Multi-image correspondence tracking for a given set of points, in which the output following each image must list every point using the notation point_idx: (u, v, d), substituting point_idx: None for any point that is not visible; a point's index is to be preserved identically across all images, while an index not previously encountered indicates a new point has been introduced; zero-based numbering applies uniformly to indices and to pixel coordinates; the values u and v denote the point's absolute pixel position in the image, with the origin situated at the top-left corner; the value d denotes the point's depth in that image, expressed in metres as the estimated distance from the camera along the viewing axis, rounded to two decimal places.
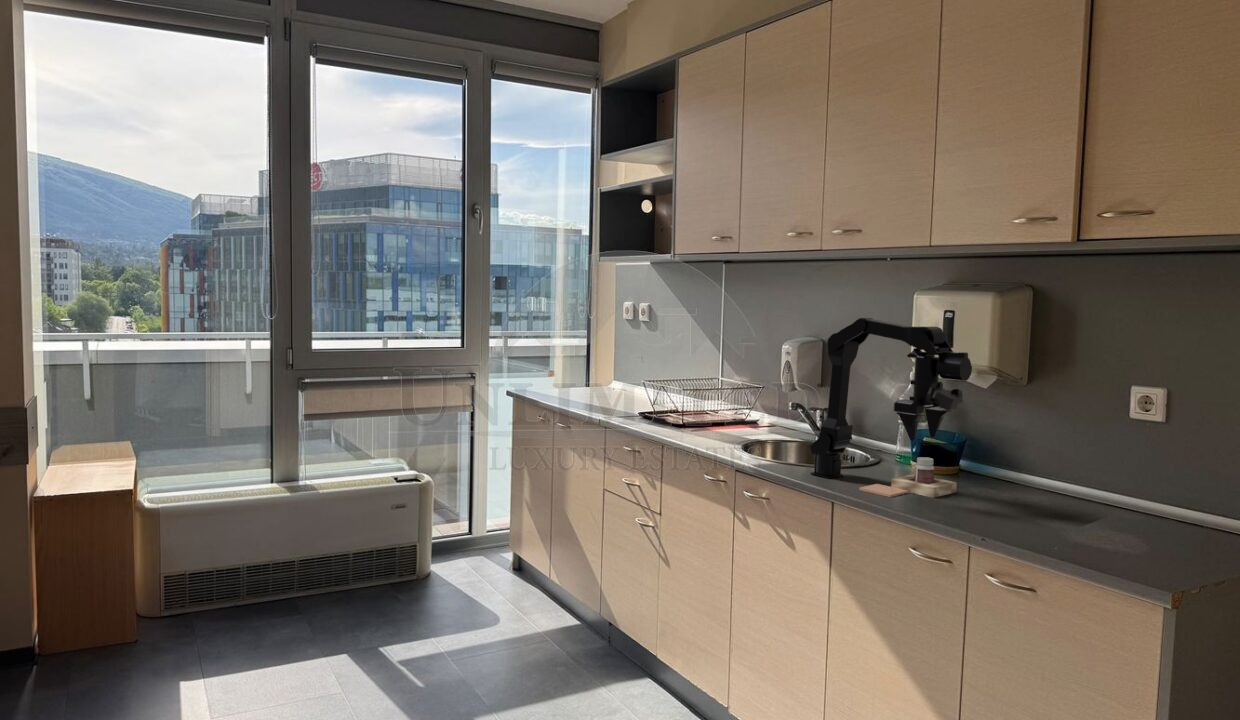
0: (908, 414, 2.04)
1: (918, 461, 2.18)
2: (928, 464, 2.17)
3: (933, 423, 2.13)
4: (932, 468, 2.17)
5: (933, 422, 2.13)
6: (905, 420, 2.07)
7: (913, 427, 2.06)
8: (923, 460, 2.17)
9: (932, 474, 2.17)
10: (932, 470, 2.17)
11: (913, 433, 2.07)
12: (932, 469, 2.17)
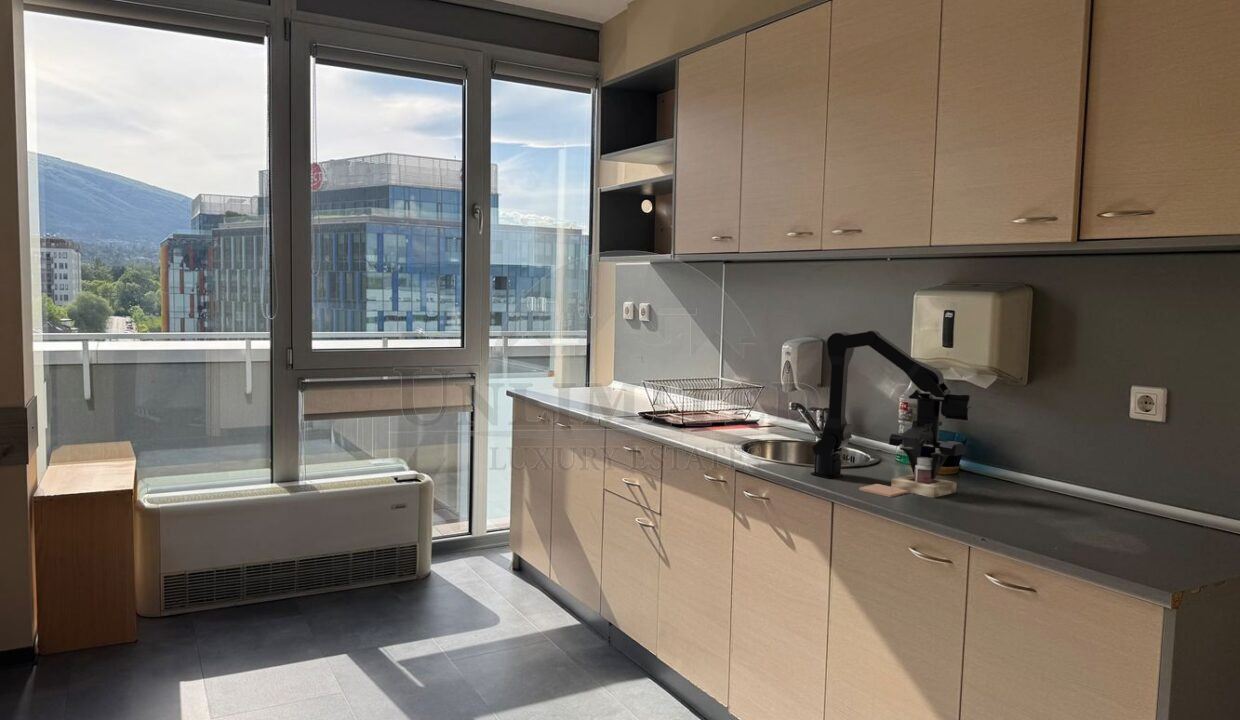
0: None
1: (918, 461, 2.18)
2: (928, 464, 2.17)
3: None
4: None
5: None
6: None
7: None
8: (923, 460, 2.17)
9: None
10: None
11: None
12: None
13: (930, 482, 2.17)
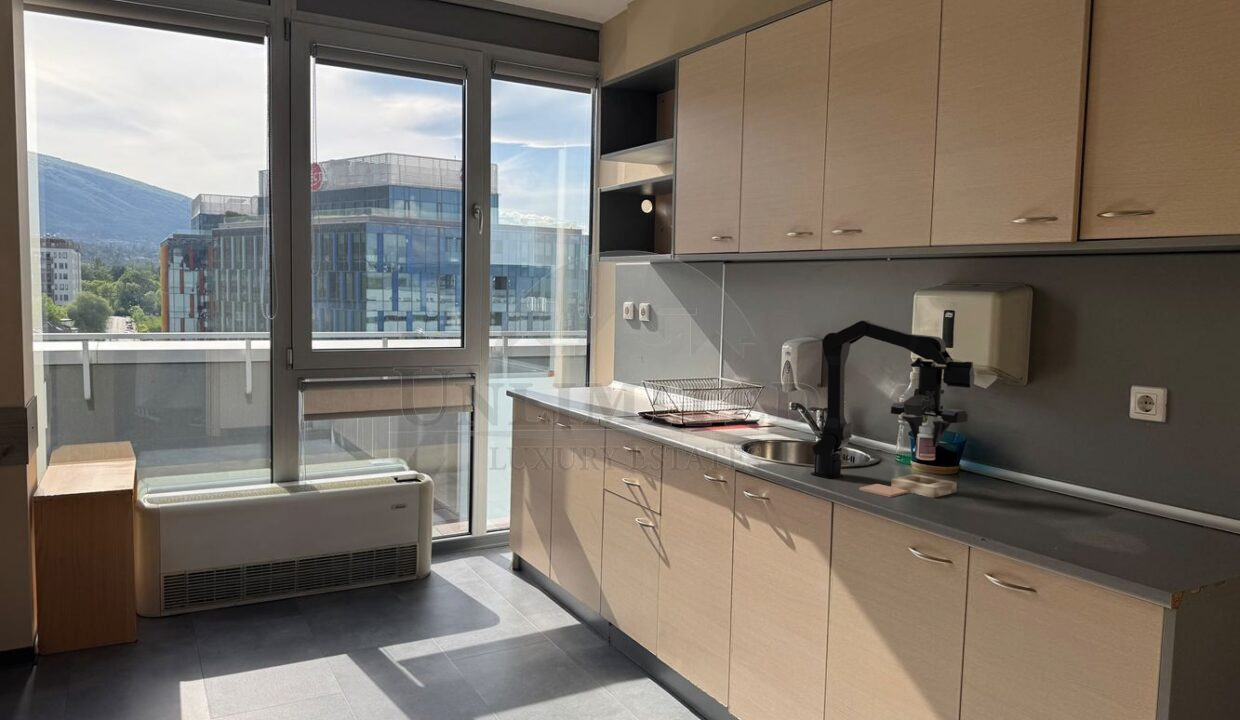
0: None
1: (920, 429, 2.17)
2: (930, 432, 2.16)
3: None
4: None
5: None
6: None
7: None
8: (925, 428, 2.16)
9: None
10: None
11: None
12: None
13: (932, 450, 2.16)
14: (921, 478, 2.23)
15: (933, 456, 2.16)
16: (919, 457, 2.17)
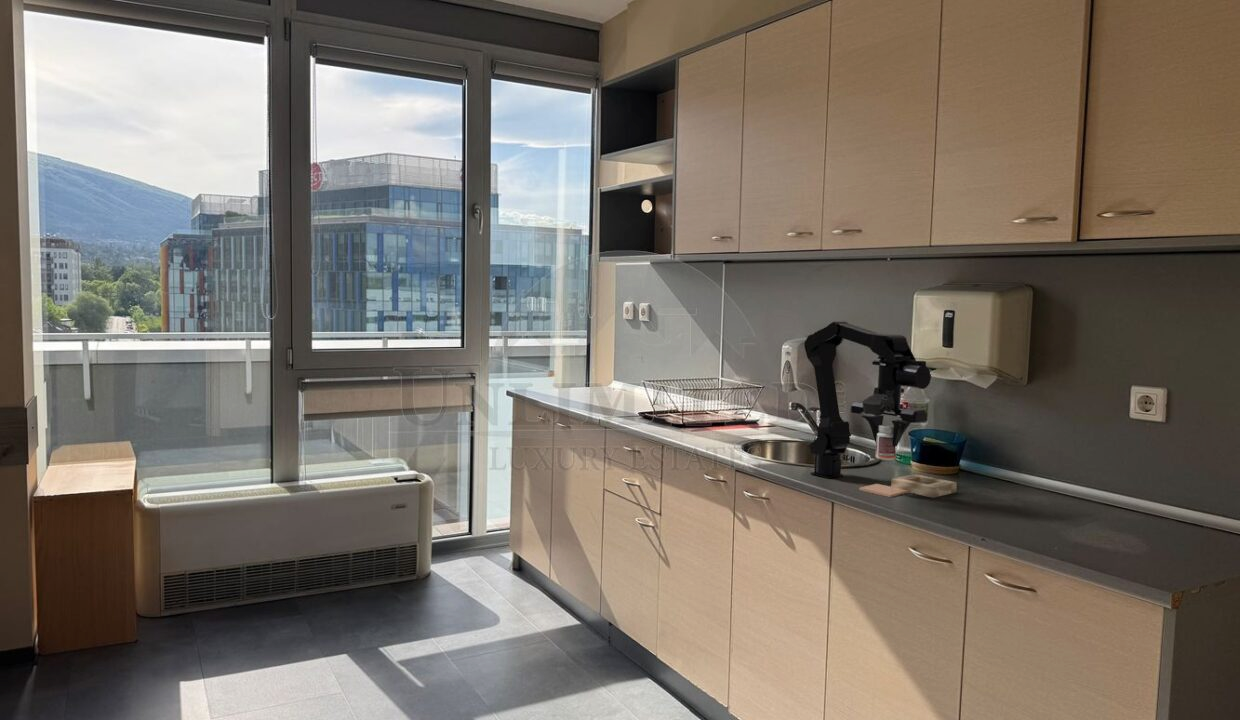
0: None
1: (880, 429, 2.14)
2: (889, 431, 2.13)
3: None
4: None
5: None
6: None
7: None
8: (884, 427, 2.13)
9: None
10: None
11: None
12: None
13: (891, 450, 2.13)
14: (921, 478, 2.23)
15: (893, 456, 2.14)
16: (879, 457, 2.14)
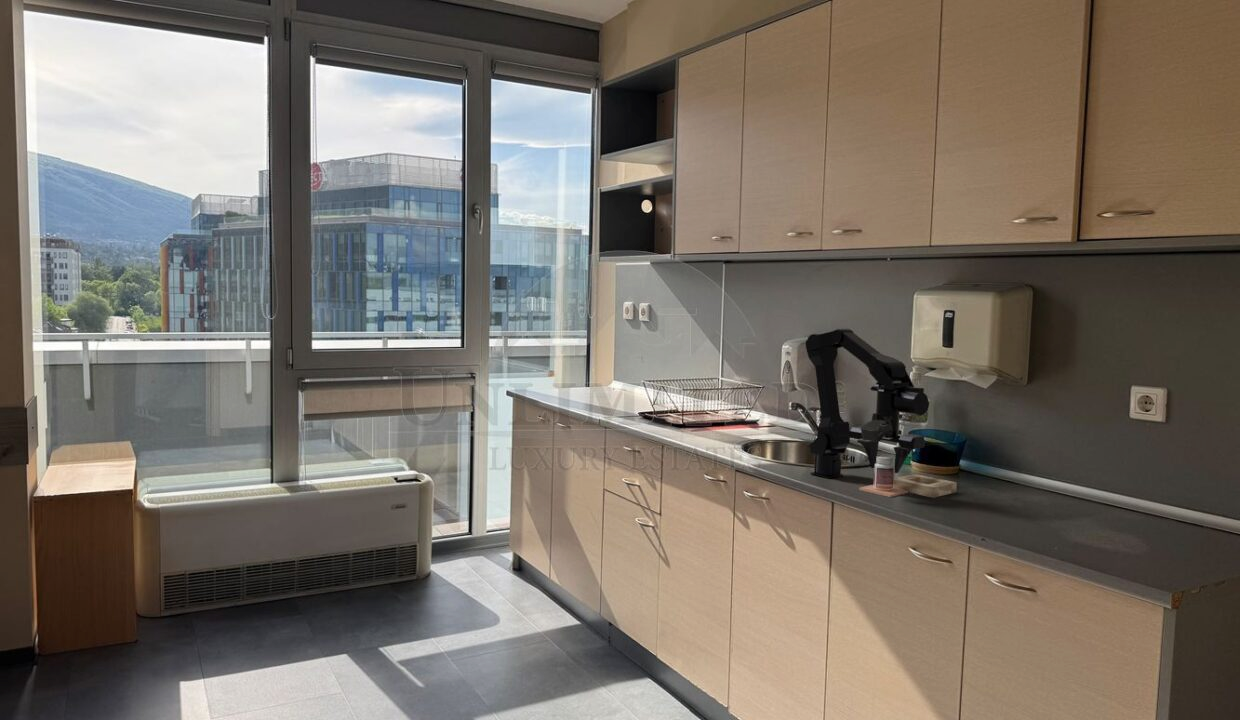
0: None
1: (877, 459, 2.15)
2: (887, 462, 2.14)
3: None
4: (891, 466, 2.14)
5: None
6: None
7: None
8: (882, 458, 2.14)
9: (891, 473, 2.14)
10: (891, 468, 2.14)
11: None
12: (891, 467, 2.14)
13: (889, 481, 2.14)
14: (921, 478, 2.23)
15: (890, 486, 2.14)
16: (876, 487, 2.15)
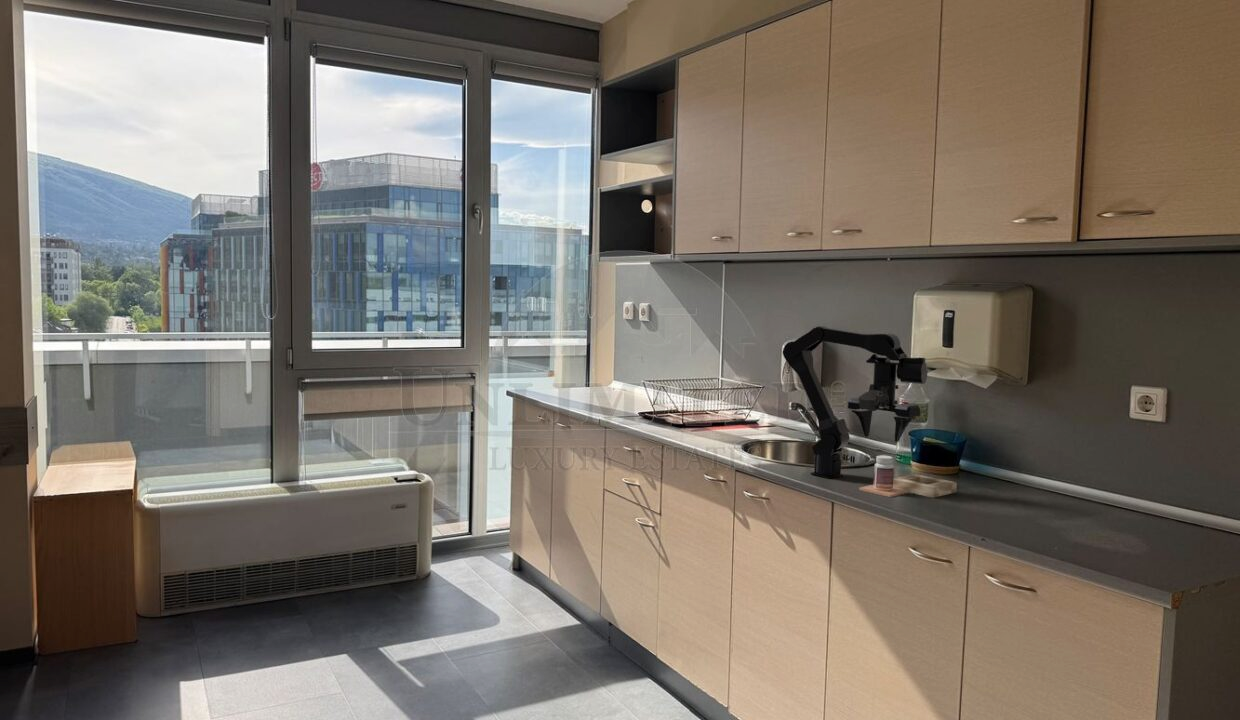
0: None
1: (877, 459, 2.15)
2: (887, 462, 2.14)
3: None
4: (891, 467, 2.14)
5: None
6: None
7: None
8: (882, 458, 2.14)
9: (891, 473, 2.14)
10: (891, 469, 2.14)
11: None
12: (891, 468, 2.14)
13: (889, 481, 2.14)
14: (921, 478, 2.23)
15: (890, 487, 2.14)
16: (876, 487, 2.15)
